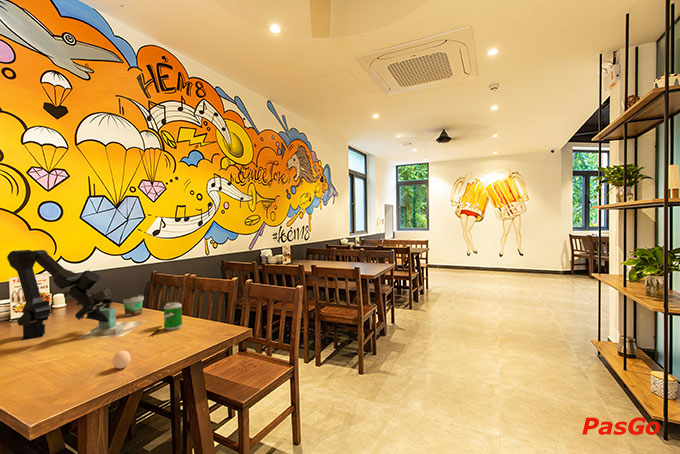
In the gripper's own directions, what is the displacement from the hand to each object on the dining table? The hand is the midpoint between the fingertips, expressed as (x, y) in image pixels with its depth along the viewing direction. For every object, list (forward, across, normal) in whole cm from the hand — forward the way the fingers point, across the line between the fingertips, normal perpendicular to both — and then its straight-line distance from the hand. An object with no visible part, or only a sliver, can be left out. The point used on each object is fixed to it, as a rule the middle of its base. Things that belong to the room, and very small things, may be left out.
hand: (110, 320), depth 138 cm
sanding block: (+3, 0, +5) cm, 6 cm away
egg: (+21, -35, -11) cm, 42 cm away
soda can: (+22, +6, -12) cm, 26 cm away
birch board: (+4, +5, +6) cm, 9 cm away
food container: (+1, +35, +9) cm, 36 cm away
